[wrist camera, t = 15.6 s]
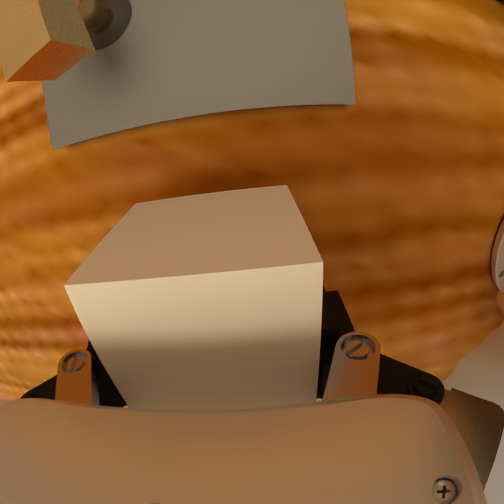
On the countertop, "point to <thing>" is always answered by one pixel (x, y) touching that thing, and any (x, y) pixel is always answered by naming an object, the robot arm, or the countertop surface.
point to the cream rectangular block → (206, 302)
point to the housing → (201, 63)
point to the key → (47, 36)
